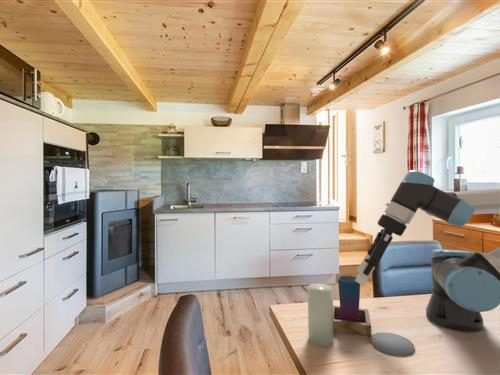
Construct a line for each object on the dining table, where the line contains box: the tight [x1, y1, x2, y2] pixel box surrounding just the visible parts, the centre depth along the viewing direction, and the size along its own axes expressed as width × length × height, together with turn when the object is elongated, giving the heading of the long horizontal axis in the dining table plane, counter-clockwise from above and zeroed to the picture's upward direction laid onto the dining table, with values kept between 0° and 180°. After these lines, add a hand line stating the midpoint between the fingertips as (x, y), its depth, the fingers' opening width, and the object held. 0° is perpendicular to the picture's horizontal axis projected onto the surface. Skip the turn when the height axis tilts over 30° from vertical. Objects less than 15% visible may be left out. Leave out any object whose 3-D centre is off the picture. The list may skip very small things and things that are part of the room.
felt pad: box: [369, 331, 415, 357], centre depth 79 cm, size 11×11×1 cm
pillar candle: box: [307, 283, 334, 347], centre depth 83 cm, size 7×7×15 cm
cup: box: [337, 274, 361, 322], centre depth 90 cm, size 7×7×15 cm
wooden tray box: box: [333, 304, 372, 339], centre depth 90 cm, size 12×12×4 cm
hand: (359, 277), depth 89 cm, fingers open, 13 cm apart
